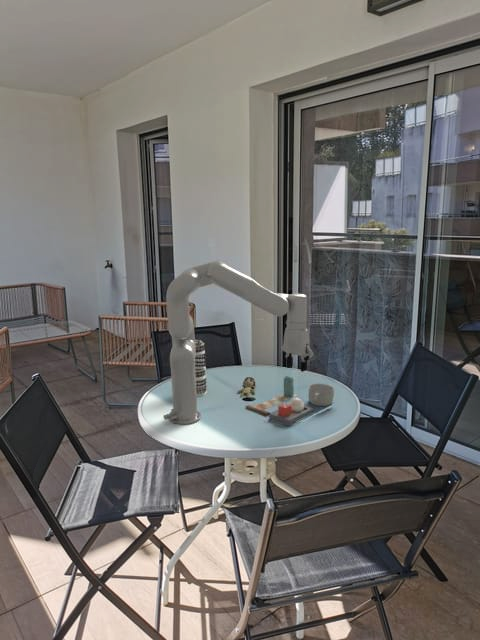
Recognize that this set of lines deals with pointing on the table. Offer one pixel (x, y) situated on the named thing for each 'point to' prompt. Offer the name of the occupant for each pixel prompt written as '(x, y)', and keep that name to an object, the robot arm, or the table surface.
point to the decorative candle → (200, 368)
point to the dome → (296, 405)
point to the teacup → (321, 394)
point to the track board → (262, 407)
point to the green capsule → (288, 386)
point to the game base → (289, 414)
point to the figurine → (247, 387)
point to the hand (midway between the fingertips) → (296, 368)
